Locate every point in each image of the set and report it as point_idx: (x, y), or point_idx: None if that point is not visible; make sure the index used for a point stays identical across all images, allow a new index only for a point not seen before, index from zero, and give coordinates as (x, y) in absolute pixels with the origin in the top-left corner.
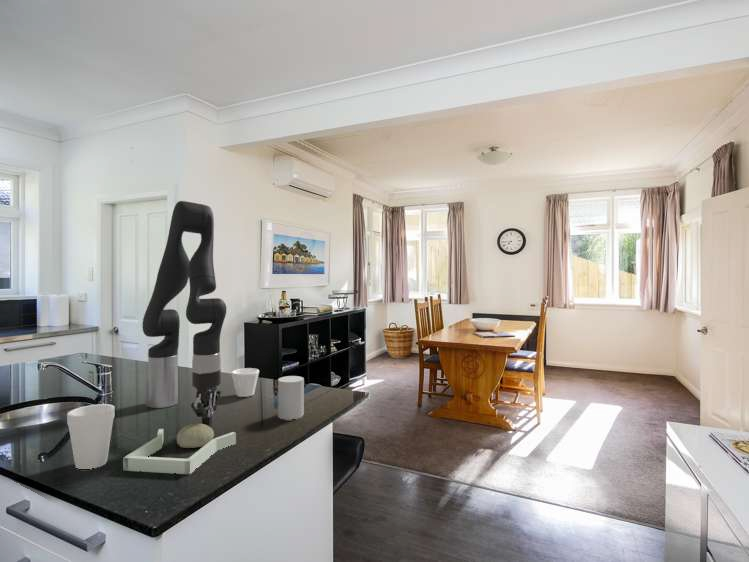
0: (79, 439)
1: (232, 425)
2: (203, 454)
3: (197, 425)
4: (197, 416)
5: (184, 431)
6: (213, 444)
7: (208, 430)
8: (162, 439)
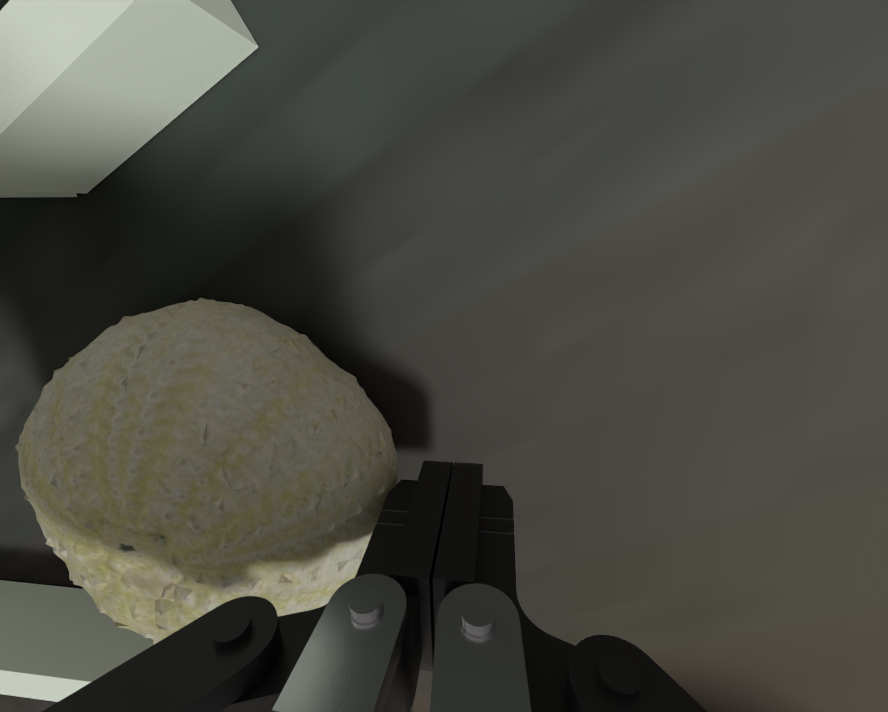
0: None
1: (721, 583)
2: None
3: (170, 578)
4: (214, 616)
5: (21, 480)
6: None
7: None
8: (77, 145)
